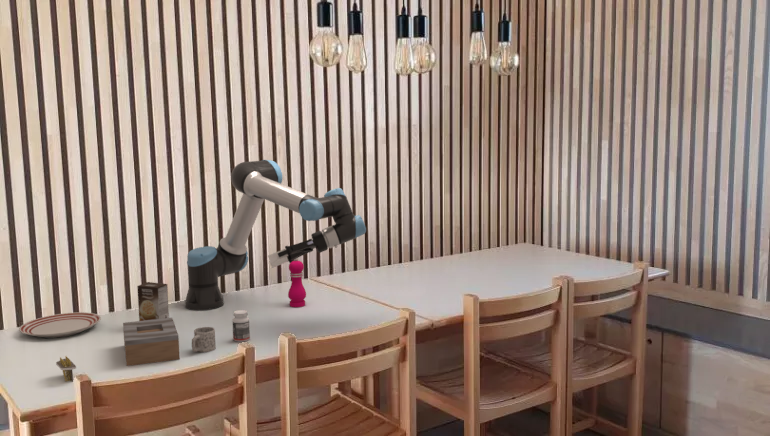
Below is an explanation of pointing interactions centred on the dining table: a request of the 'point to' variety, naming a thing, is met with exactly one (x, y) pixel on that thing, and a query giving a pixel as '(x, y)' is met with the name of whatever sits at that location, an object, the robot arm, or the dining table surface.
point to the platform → (66, 368)
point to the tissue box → (150, 341)
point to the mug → (204, 339)
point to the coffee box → (153, 301)
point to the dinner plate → (60, 324)
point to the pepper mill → (296, 284)
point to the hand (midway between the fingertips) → (269, 262)
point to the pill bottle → (241, 326)
